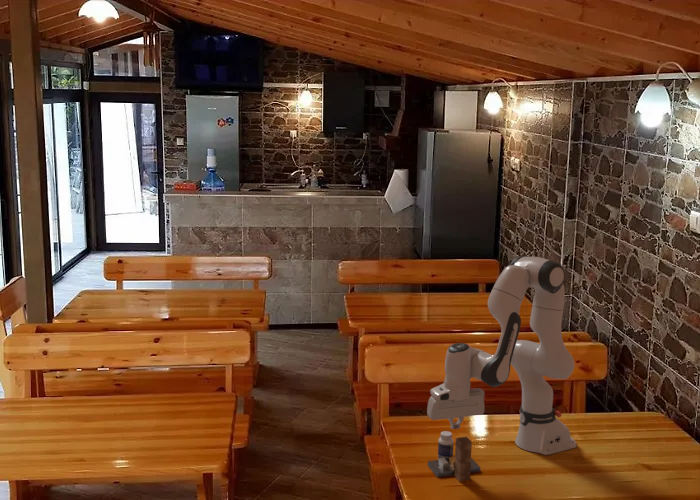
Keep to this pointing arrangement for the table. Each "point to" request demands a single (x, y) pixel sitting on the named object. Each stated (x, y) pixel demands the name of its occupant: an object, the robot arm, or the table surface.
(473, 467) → the breaker strip
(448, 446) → the pill bottle
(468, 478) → the walnut post
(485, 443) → the table surface
